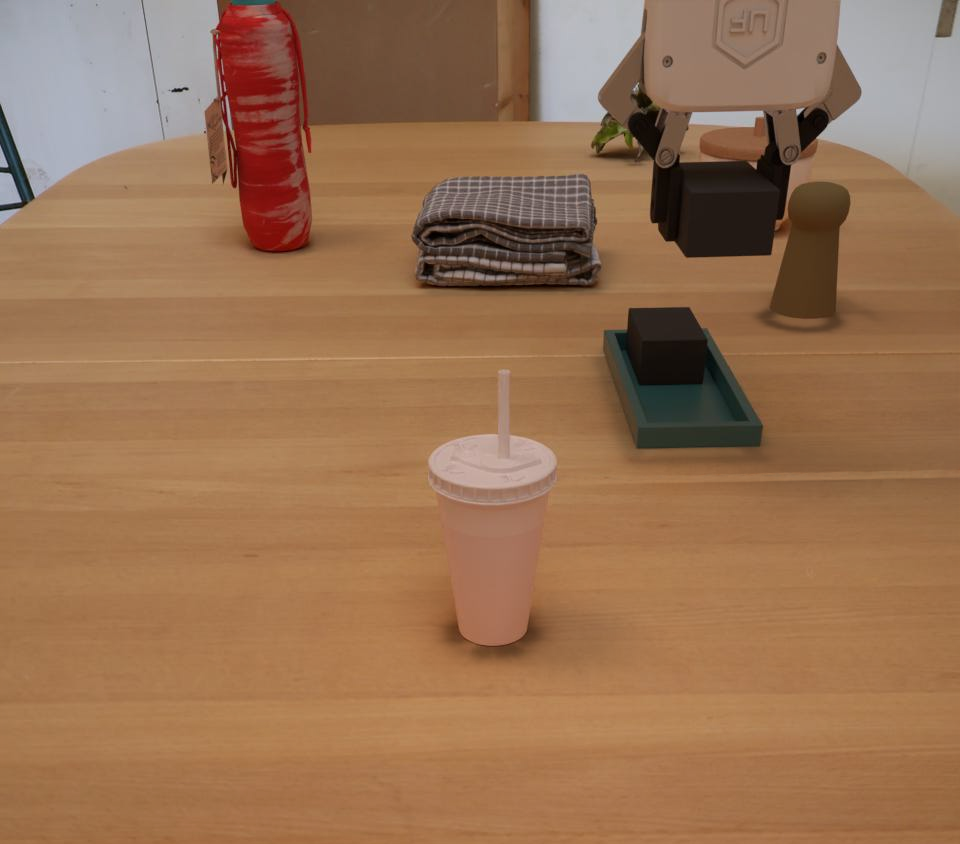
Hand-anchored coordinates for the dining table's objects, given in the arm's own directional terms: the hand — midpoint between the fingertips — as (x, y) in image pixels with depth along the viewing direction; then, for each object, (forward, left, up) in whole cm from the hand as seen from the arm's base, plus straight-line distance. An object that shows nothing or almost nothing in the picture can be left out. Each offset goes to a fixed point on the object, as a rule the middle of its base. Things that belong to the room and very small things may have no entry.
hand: (714, 231), depth 67 cm
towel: (+10, -48, -15) cm, 52 cm away
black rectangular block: (0, 0, 0) cm, 0 cm away
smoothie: (+14, +20, -15) cm, 29 cm away
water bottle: (+36, -59, -15) cm, 71 cm away
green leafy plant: (-11, -104, -15) cm, 106 cm away
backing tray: (-1, -12, -15) cm, 19 cm away
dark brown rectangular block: (-1, -18, -15) cm, 23 cm away
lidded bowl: (-18, -64, -15) cm, 68 cm away
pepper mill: (-16, -32, -15) cm, 39 cm away
